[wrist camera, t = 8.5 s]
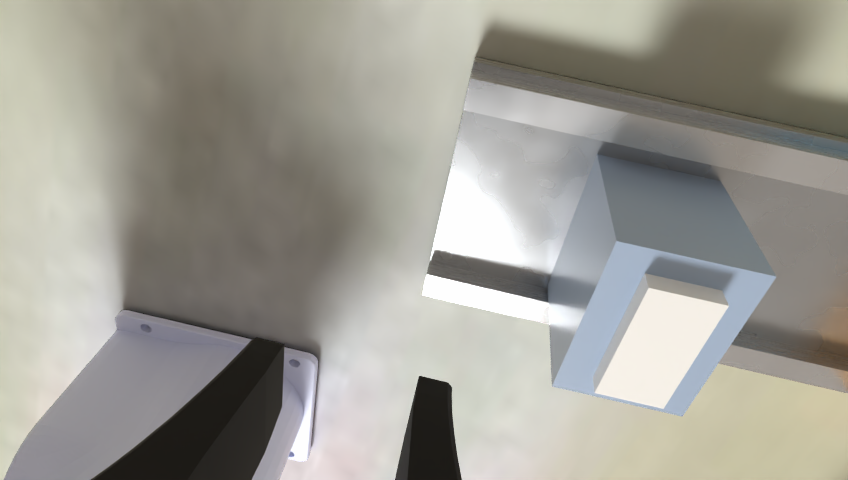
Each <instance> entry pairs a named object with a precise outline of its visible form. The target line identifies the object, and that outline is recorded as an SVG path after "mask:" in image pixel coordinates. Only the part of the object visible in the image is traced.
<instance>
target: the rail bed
mask: <svg viewBox="0 0 848 480" xmlns="http://www.w3.org/2000/svg"><path fill="white" fill-rule="evenodd" d="M597 154H599V155H603V156H608V157H612V158H617V159H622V160H626V161H631V162H635V163H640V164H644V165H649V166H654V167H658V168H663V169H667V170H672V171H677V172H681V173H686V174H690V175H695V176H699V177H704V178H709V179H713V180H718V181H721V182H722V184H723V186H724V187H725V189H726V191H727V192H728V194H729V196H730V198H731V199H732V201H733V203H734V204H735V206H736V208H737V210H738V211H739V213H740V215H741V217H742V218H743V220H744V222H745V223H746V225H747V227H748V229H749V230H750V232H751V234H752V235H753V237H754V239H755V241H756V242H757V244H758V246H759V247H760V249H761V251H762V253H763V254H764V256H765V258H766V259H767V261H768V263H769V265H770V266H771V268H772V270H773V271H774V273H775V275H776V278H775V280H774V281H773V283H772V284H771V286H770V287H769V289H768V290H767V292H766V293H765V295H764V296H763V298H762V299H761V301H760V302H759V304H758V305H757V307H756V308H755V310H754V311H753V312H752V314H751V315H750V317H749V318H748V320H747V321H746V323H745V324H744V326H743V327H742V329H741V330H740V332H739V333H738V335H737V336H736V338H735V339H734V341H733V342H732V344H731V345H730V347H729V348H728V350H727V351H726V353H725V354H724V355H723V357H722V358H721V360H720V361H719V364H723V365H727V366H732V367H736V368H740V369H745V370H749V371H753V372H758V373H762V374H766V375H771V376H775V377H779V378H784V379H788V380H792V381H797V382H801V383H805V384H810V385H814V386H818V387H823V388H827V389H831V390H836V391H840V392H844V393H848V138H845V137H840V136H836V135H831V134H827V133H822V132H817V131H813V130H808V129H804V128H799V127H795V126H790V125H785V124H781V123H776V122H772V121H767V120H762V119H758V118H753V117H749V116H744V115H740V114H735V113H730V112H726V111H721V110H717V109H712V108H707V107H703V106H698V105H694V104H689V103H685V102H680V101H675V100H671V99H666V98H662V97H657V96H652V95H648V94H643V93H639V92H634V91H630V90H625V89H620V88H616V87H611V86H607V85H602V84H597V83H593V82H588V81H584V80H579V79H574V78H570V77H565V76H561V75H556V74H552V73H547V72H542V71H538V70H533V69H529V68H524V67H519V66H515V65H510V64H506V63H501V62H497V61H492V60H487V59H483V58H478V57H475V60H474V64H473V68H472V72H471V76H470V80H469V85H468V89H467V94H466V98H465V103H464V108H463V114H462V118H461V123H460V127H459V132H458V136H457V141H456V145H455V150H454V155H453V159H452V164H451V168H450V173H449V177H448V182H447V186H446V191H445V195H444V200H443V204H442V209H441V213H440V218H439V223H438V227H437V232H436V236H435V241H434V245H433V250H432V254H431V259H430V263H429V267H428V272H427V276H426V280H425V285H424V289H423V294H422V295H424V296H428V297H433V298H437V299H441V300H446V301H450V302H454V303H459V304H463V305H467V306H472V307H476V308H480V309H485V310H489V311H493V312H498V313H502V314H506V315H511V316H515V317H519V318H524V319H528V320H532V321H537V322H541V323H545V324H549V303H548V282H549V280H550V277H551V274H552V272H553V269H554V266H555V264H556V261H557V259H558V256H559V253H560V251H561V248H562V245H563V243H564V240H565V237H566V235H567V232H568V229H569V227H570V224H571V222H572V219H573V216H574V214H575V211H576V208H577V206H578V203H579V200H580V198H581V195H582V192H583V190H584V187H585V185H586V182H587V179H588V177H589V174H590V171H591V169H592V166H593V163H594V161H595V158H596V155H597Z"/></svg>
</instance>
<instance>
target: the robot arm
mask: <svg viewBox="0 0 848 480" xmlns="http://www.w3.org/2000/svg"><path fill="white" fill-rule="evenodd" d="M115 322H116V327H117V331H116V332H115V333H114V334H113V335H112V336H111V338H110V339H109V340H108V341H107V342H106V343H105V345H104V346H103V347H102V348H101V349H100V350H99V352H98V353H97V354H96V355H95V356H94V357H93V358H92V360H91V361H90V362H89V363H88V364H87V365H86V367H85V368H84V369H83V370H82V371H81V372H80V374H79V375H78V376H77V377H76V378H75V379H74V381H73V382H72V383H71V384H70V385H69V386H68V387H67V389H66V390H65V391H64V392H63V393H62V394H61V396H60V397H59V398H58V399H57V400H56V401H55V403H54V404H53V405H52V406H51V407H50V408H49V409H48V411H47V412H46V413H45V414H44V415H43V416H42V418H41V419H40V420H39V421H38V422H37V423H36V425H35V426H34V427H33V429H32V430H31V431H30V432H29V434H28V435H27V437H26V438H25V440H24V441H23V443H22V444H21V446H20V448H19V450H18V451H17V453H16V455H15V457H14V459H13V461H12V463H11V465H10V467H9V469H8V471H7V473H6V476H5V478H4V480H279V479H280V477H281V474H282V472H283V469H284V467H285V464H286V462H287V459H291V460H295V461H300V462H303V461H306V460H308V458H309V455H310V450H311V438H312V427H313V416H314V404H315V393H316V382H317V370H318V360H317V358H316V357H315V356H314V355H313V354H310V353H307V352H303V351H299V350H295V349H290V348H286V347H284V344H281V343H277V342H273V341H269V340H264V339H260V338H255V339H253V340H252V339H248V338H244V337H239V336H235V335H231V334H227V333H222V332H218V331H214V330H210V329H205V328H201V327H197V326H193V325H188V324H184V323H180V322H176V321H171V320H167V319H163V318H159V317H154V316H150V315H146V314H142V313H137V312H133V311H129V310H123V311H121V312H120V313H119V314H118V315H117V316H116V317H115ZM294 359H295V360H294ZM296 360H297V361H296ZM395 480H462V479H461V473H460V468H459V463H458V457H457V451H456V444H455V436H454V428H453V417H452V387H451V386H450V385H449V383H447V382H443V381H439V380H434V379H430V378H426V377H422V376H419V379H418V383H417V387H416V391H415V395H414V399H413V404H412V408H411V412H410V416H409V420H408V424H407V428H406V432H405V437H404V441H403V446H402V450H401V455H400V459H399V464H398V469H397V473H396V478H395Z"/></svg>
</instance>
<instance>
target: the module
mask: <svg viewBox="0 0 848 480" xmlns="http://www.w3.org/2000/svg"><path fill="white" fill-rule="evenodd" d="M775 278H776V275H775V273H774V271H773V270H772V268H771V266H770V265H769V263H768V261H767V259H766V258H765V256H764V254H763V253H762V251H761V249H760V247H759V246H758V244H757V242H756V241H755V239H754V237H753V235H752V234H751V232H750V230H749V229H748V227H747V225H746V223H745V222H744V220H743V218H742V217H741V215H740V213H739V211H738V210H737V208H736V206H735V204H734V203H733V201H732V199H731V198H730V196H729V194H728V192H727V191H726V189H725V187H724V186H723V184H722V182H721V181H718V180H713V179H709V178H704V177H699V176H695V175H690V174H686V173H681V172H677V171H672V170H667V169H663V168H658V167H654V166H649V165H644V164H640V163H635V162H631V161H626V160H622V159H617V158H612V157H608V156H603V155H599V154H597V155H596V158H595V161H594V163H593V166H592V169H591V171H590V174H589V177H588V179H587V182H586V185H585V187H584V190H583V192H582V195H581V198H580V200H579V203H578V206H577V208H576V211H575V214H574V216H573V219H572V222H571V224H570V227H569V229H568V232H567V235H566V237H565V240H564V243H563V245H562V248H561V251H560V253H559V256H558V259H557V261H556V264H555V266H554V269H553V272H552V274H551V277H550V280H549V282H548V303H549V327H550V350H551V373H552V386H553V387H557V388H562V389H566V390H570V391H575V392H579V393H583V394H587V395H592V396H596V397H600V398H605V399H609V400H613V401H618V402H622V403H626V404H631V405H635V406H639V407H644V408H648V409H652V410H657V411H661V412H665V413H670V414H674V415H678V416H683V415H684V413H685V412H686V410H687V409H688V407H689V406H690V404H691V403H692V401H693V400H694V398H695V397H696V396H697V394H698V393H699V391H700V390H701V388H702V387H703V385H704V384H705V382H706V381H707V379H708V378H709V376H710V375H711V373H712V372H713V370H714V369H715V367H716V366H717V364H718V363H719V361H720V360H721V358H722V357H723V355H724V354H725V353H726V351H727V350H728V348H729V347H730V345H731V344H732V342H733V341H734V339H735V338H736V336H737V335H738V333H739V332H740V330H741V329H742V327H743V326H744V324H745V323H746V321H747V320H748V318H749V317H750V315H751V314H752V312H753V311H754V310H755V308H756V307H757V305H758V304H759V302H760V301H761V299H762V298H763V296H764V295H765V293H766V292H767V290H768V289H769V287H770V286H771V284H772V283H773V281H774V280H775Z"/></svg>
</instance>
